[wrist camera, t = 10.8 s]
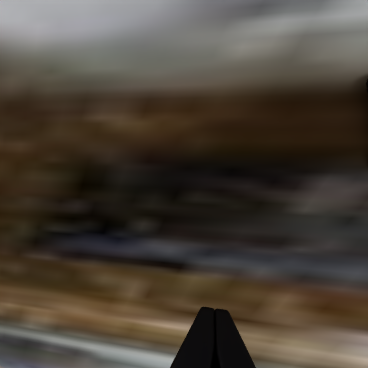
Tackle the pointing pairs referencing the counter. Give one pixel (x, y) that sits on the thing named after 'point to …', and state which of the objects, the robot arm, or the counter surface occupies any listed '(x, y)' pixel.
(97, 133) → the counter surface
